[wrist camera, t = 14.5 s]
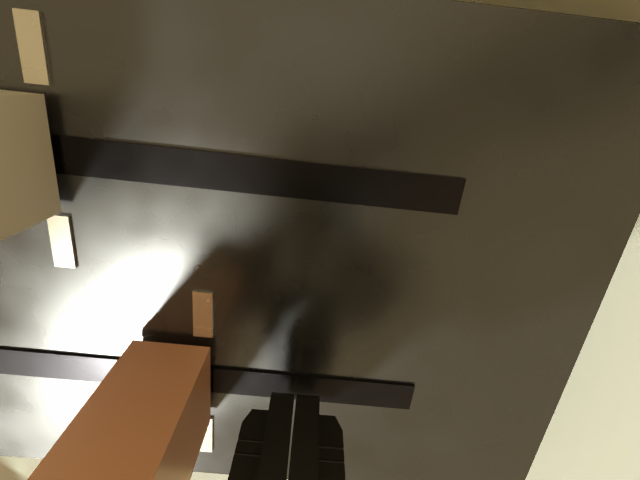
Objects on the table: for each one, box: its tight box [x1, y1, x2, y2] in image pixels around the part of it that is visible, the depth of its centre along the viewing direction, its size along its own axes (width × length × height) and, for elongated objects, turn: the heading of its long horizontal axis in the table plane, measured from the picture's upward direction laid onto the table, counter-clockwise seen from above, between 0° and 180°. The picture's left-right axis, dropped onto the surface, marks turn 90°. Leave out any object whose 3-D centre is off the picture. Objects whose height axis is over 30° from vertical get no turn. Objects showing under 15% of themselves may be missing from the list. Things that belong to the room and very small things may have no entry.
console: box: [0, 0, 640, 480], centre depth 12 cm, size 16×24×3 cm, turn 84°
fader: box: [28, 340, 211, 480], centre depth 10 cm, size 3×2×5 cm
